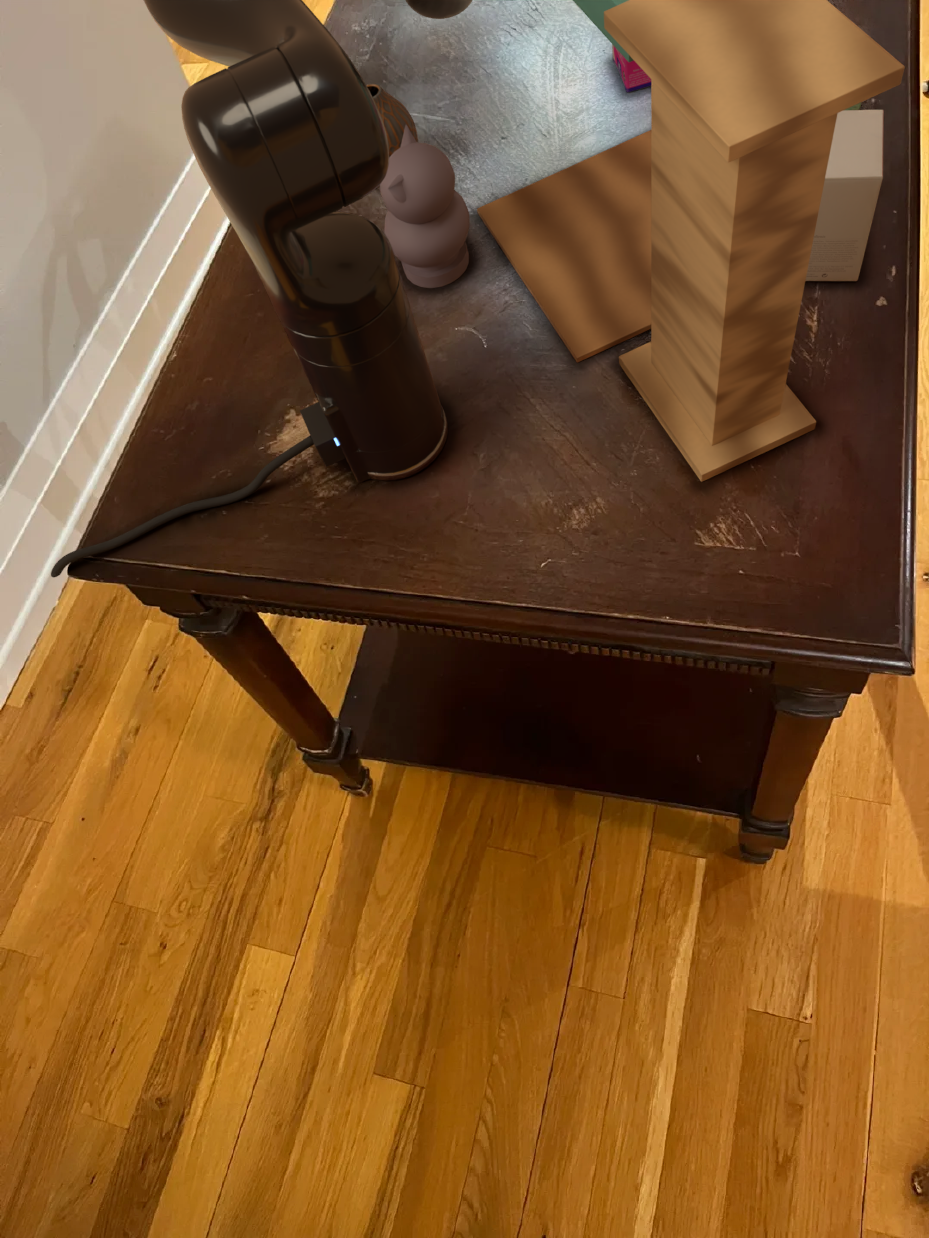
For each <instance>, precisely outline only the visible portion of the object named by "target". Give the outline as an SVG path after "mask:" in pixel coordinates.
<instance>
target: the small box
mask: <svg viewBox="0 0 929 1238" xmlns="http://www.w3.org/2000/svg"><path fill="white" fill-rule="evenodd" d="M884 112H885V110H884V109H860V110H844V111H841V112H839V113H837V119H836V124H835V129H834V134H833V140H832V145H831V150H830V155H829V160H828V166H827V171H826V176H825V181H824V186H823V192H822V197H821V202H820V207H819V212H818V218H817V223H816V228H815V233H814V239H813V244H812V249H811V254H810V259H809V265H808V270H807V275H806V280H805V282H857V281H859V276H860V272H861V269H862V265H863V261H864V256H865V252H866V249H867V245H868V240H869V236H870V232H871V228H872V223H873V220H874V215H875V213H876V207H877V203H878V199H879V195H880V191H881V190H880V189H881V188H882V187H881V186H882V183H883V179H884V127H885V126H884V124H885V123H884V122H885V121H884V114H885V113H884Z"/></svg>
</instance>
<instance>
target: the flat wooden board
mask: <svg viewBox="0 0 929 1238" xmlns="http://www.w3.org/2000/svg"><path fill="white" fill-rule="evenodd" d="M476 211H477V214H478V216H479V217H480V219H481V220H482V222H483V224H484V225H485V226H486V228H487V230H488V231H489V233H490V234H491V236H493V238H494V241H496V243H497V244H498V246H499V248H500V249H501V250H502V252H503V254H504V255H505V256H506V258H507V260H508V261H509V262H510V264H511V266H512V267H513V269H514V270H515V272H516V273H517V275H518V276H519V278H520V279H521V281H522V282H523V283H524V285H525V287H526V288H527V289H528V291H529V292H530V294H531V296H532V297H533V298H534V300H535V301H536V303H537V304H538V306H539V308H540V309H541V311H542V312H543V314H544V316H545V317H546V318H547V320H548V321H549V323H550V324H551V326H552V327H553V329H554V330H555V332H556V333H557V335H558V336H559V338H560V339H561V341H562V342H563V344H564V345H565V347H566V348H567V350H568V351H569V353H570V354H571V356H572V357H573V359H574V360H575V362H576V363H580V362H582V361H583V360H586V359H588V358H590V357H593V356H595V355H597V354H599V353H602V352H604V351H605V350H607V349H610V348H612V347H615V346H617V345H619V344H621V343H624V342H625V341H627V340H630V339H632V338H634V337H636V336H639V335H641V334H643V333H645V332H647V331H649V330H651V129H650V130H647V131H644V132H643V133H641V134H638V135H636V136H634V137H632V138H630V139H627V140H625V141H623V142H621V143H619V144H617V145H614V146H612V147H609V148H607V149H605V150H603V151H601V152H598V153H597V154H594V155H592V156H590V157H588V158H585V159H583V160H581V161H579V162H577V163H574V164H572V165H570V166H568V167H565V168H563V169H561V170H559V171H557V172H554V173H552V174H550V175H548V176H545V177H544V178H541V179H539V180H537V181H534V182H533V183H530V184H528V185H526V186H523V187H522V188H521V187H520V188H519V189H517V190H514V191H512V192H510V193H508V194H506V195H504V196H502V197H500V198H497V199H495V200H493V201H491V202H488V203H486V204H484V205H481V206H480V207H477V208H476Z"/></svg>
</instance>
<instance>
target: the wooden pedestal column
mask: <svg viewBox="0 0 929 1238" xmlns="http://www.w3.org/2000/svg"><path fill="white" fill-rule="evenodd" d="M604 28H605V29H606V30H607V32H608V33H609V34H610V35H611V36H612V37H613V38H614V39H615V40H616V41H617V42H618V44H619V45H620V46H621V47H622V48H623V49H624V50H625V51H626V52H627V53H628V54H629V55H630V57H631V58H632V59H633V60H634V61H635V62H636V63H637V64H638V65H639V66H640V67H641V69H642V70H643V71H644V72H645V73H646V74H647V75H648V76H649V77H650V78H651V86H650V87H651V89H650V93H651V96H650V99H651V101H650V102H651V109H650V110H651V112H650V113H651V115H650V117H651V124H650V125H651V127H650V130H651V329H650V330H651V332H650V333H651V337H650V338H651V339H650V340H651V341H648V342H647V343H645V344H643V345H640V346H638V347H636V348H634V349H632V350H629V351H627V352H625V353H623V354H620V355H619V356H618V365H619V366H620V368H621V369H622V370H623V372H624V373H625V374H626V376H627V378H628V379H629V380H630V382H631V383H632V385H633V386H634V388H635V390H636V391H638V393H639V395H640V396H641V397H642V399H643V400H644V402H645V403H646V405H647V406H648V407H649V409H650V410H651V412H652V413H653V415H654V416H655V418H656V419H657V421H658V422H659V424H660V425H661V427H662V428H663V430H664V431H665V432H666V434H667V435H668V436H669V438H670V439H671V440H672V442H673V443H674V445H675V446H676V448H677V450H678V451H679V452H680V454H681V455H682V457H683V458H684V460H685V461H686V462H687V464H688V465H689V466H690V468H691V470H692V471H693V472H694V474H695V475H696V477H697V478H698V479H699V481H700V482H701V483H702V482H704V481H706V480H709V479H711V478H713V477H715V476H717V475H720V474H722V473H724V472H726V471H728V470H730V469H733V468H734V467H737V466H739V465H741V464H743V463H745V462H747V461H750V460H752V459H754V458H756V457H758V456H760V455H763V454H765V453H766V452H769V451H771V450H773V449H775V448H777V447H780V446H782V445H784V444H786V443H788V442H791V441H792V440H795V439H798V438H799V437H801V436H803V435H806V434H807V433H810V432H812V431H814V430H816V425H817V420H816V419H815V418H814V417H813V416H812V414H811V413H810V412H809V411H808V409H807V408H806V407H805V405H804V404H803V403H802V402H801V400H800V399H799V397H797V395H796V394H795V393H794V392H793V391H792V389H791V388H790V387H789V386H788V385H787V378H788V373H789V368H790V363H791V358H792V352H793V348H794V342H795V336H796V331H797V327H798V322H799V316H800V311H801V306H802V302H803V301H802V300H803V296H804V290H805V286H806V285H805V284H806V281H805V280H806V275H807V270H808V265H809V259H810V254H811V249H812V244H813V239H814V233H815V228H816V223H817V218H818V212H819V207H820V202H821V197H822V192H823V186H824V181H825V176H826V171H827V166H828V160H829V155H830V150H831V145H832V140H833V134H834V129H835V124H836V119H837V113H839V112H841V111H843V110H845V109H847V108H850V107H852V106H854V105H856V104H858V103H861V102H862V103H863V102H864V101H868V100H870V99H872V98H874V97H876V96H878V95H880V94H882V93H885V92H887V91H889V90H891V89H893V88H895V87H898V86H900V85H901V83H902V80H903V76H904V72H905V65H904V64H903V63H901V61H900V60H898V59H897V58H896V57H894V56H893V55H892V54H891V53H890V52H888V51H887V50H886V49H885V47H883V46H881V45H880V44H879V43H878V42H877V41H876V40H874V39H873V38H872V37H871V36H870V35H868V34H867V32H865V31H864V30H863V29H862V28H861V27H859V26H858V25H856V23H854V22H853V21H852V20H851V19H850V18H849V17H847V16H846V15H845V14H844V13H843V12H841V11H840V10H839V9H838V8H837V7H836V6H834V5H833V4H832V2H830V1H829V0H629V1H626V2H624V3H622V4H620V5H617V6H615V7H613V8H611V9H608V10H606V11H604ZM862 103H861V104H862Z"/></svg>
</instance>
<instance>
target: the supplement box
mask: <svg viewBox="0 0 929 1238" xmlns="http://www.w3.org/2000/svg"><path fill="white" fill-rule="evenodd" d="M611 52H612V53H611V54H612V62H613V63H614V65H615V68H616V69H617V71H618V74H619V76H620V78H621V81H622V83H623V86H624V89H625V92H626V93H631V92H632V93H633V92H635V91H639V90H641V89H642V90H643V89H645V88H648V87H651V78H650V77H649V76H648V75H647V74H646V73H645V72H644V71H643V70H642V69H641V67H640V66H639V65H638V64H637V63H636V62H635V61H631V62H628V61H627V60H626V59H625V58H624V57H623V55H622V54H621V53H620V52H619V51H618V50H617V49H616V48H615V47H614V45H613V44H612V43H611Z"/></svg>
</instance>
